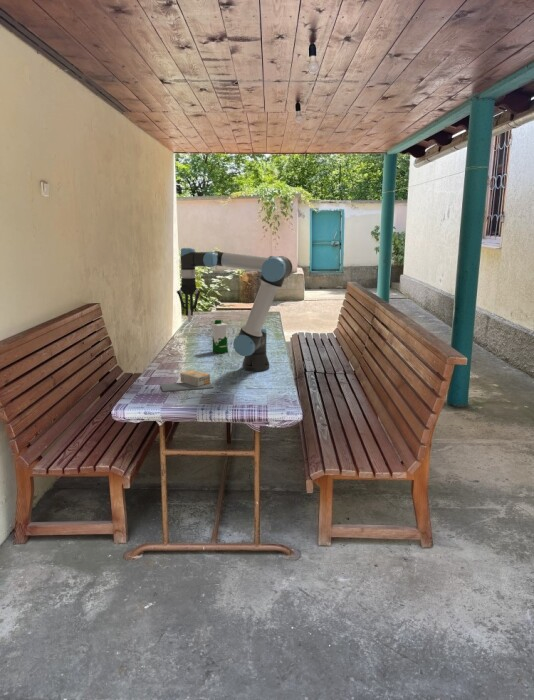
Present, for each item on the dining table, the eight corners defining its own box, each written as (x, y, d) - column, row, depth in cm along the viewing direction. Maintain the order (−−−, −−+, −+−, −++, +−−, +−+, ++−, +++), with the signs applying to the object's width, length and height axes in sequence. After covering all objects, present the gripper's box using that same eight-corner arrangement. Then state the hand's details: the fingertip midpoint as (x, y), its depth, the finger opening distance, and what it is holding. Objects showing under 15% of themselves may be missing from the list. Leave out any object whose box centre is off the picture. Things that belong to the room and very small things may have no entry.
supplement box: (192, 369, 268) (210, 373, 260) (192, 378, 269) (210, 383, 261) (179, 372, 262) (198, 377, 254) (180, 381, 263) (198, 386, 255)
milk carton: (222, 350, 339) (222, 319, 335) (230, 352, 332) (229, 321, 327) (210, 351, 334) (210, 320, 329) (218, 354, 327) (217, 322, 322)
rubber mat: (208, 381, 266) (208, 380, 266) (213, 388, 255) (213, 387, 255) (160, 385, 260) (160, 384, 259) (162, 392, 248) (162, 390, 248)
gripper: (199, 276, 286) (200, 319, 291) (175, 277, 282) (176, 320, 288) (201, 277, 279) (202, 322, 284) (176, 278, 275) (178, 323, 281)
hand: (189, 321), depth 286 cm, fingers closed
